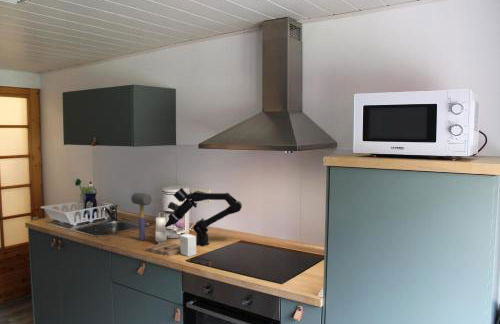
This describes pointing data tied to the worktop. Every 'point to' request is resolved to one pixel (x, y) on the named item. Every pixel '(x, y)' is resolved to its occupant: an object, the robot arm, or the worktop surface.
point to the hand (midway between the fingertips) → (167, 224)
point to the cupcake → (179, 224)
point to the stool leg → (160, 230)
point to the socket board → (165, 248)
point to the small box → (188, 245)
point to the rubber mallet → (141, 210)
